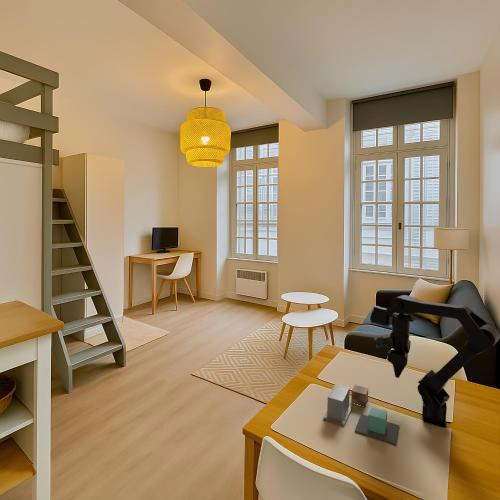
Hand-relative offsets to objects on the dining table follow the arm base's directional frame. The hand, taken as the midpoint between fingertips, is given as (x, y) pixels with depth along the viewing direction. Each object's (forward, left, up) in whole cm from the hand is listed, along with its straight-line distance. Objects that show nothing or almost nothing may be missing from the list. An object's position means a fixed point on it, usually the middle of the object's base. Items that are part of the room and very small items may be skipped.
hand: (398, 372), depth 115 cm
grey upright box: (+17, +17, -12) cm, 27 cm away
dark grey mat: (+4, +19, -12) cm, 23 cm away
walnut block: (+12, +6, -12) cm, 18 cm away
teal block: (+4, +19, -12) cm, 23 cm away
